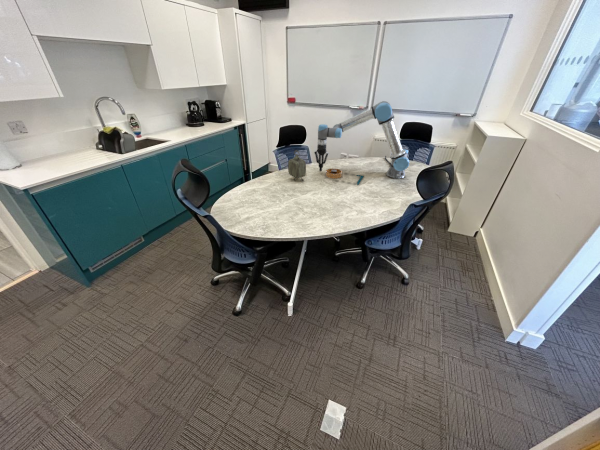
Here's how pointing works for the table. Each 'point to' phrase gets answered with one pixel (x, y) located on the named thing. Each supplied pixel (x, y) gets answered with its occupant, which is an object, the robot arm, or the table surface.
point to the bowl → (337, 175)
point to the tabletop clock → (297, 167)
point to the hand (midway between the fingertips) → (320, 170)
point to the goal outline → (359, 179)
